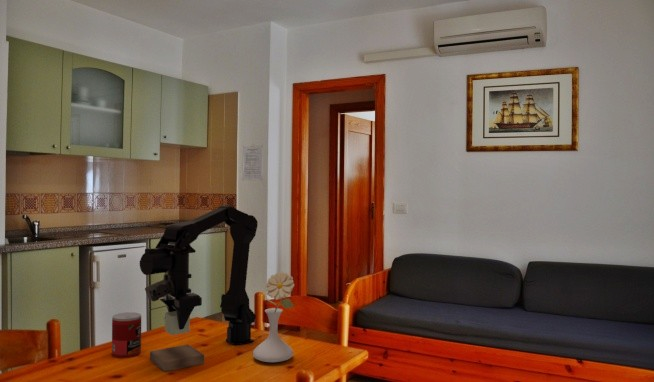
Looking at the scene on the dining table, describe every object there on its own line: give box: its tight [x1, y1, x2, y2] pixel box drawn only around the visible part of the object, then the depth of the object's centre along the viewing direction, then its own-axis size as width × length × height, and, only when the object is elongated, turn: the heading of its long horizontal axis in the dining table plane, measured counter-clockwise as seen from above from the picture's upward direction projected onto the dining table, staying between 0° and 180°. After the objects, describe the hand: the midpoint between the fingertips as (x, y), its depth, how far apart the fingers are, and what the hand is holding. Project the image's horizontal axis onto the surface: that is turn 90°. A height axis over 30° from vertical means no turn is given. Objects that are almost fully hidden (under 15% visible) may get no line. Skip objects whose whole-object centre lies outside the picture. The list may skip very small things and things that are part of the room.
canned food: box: [111, 311, 142, 359], centre depth 147 cm, size 8×8×11 cm
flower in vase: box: [252, 271, 295, 363], centre depth 144 cm, size 13×11×25 cm
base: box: [149, 344, 205, 373], centre depth 141 cm, size 11×11×2 cm
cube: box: [164, 311, 191, 336], centre depth 141 cm, size 5×5×5 cm
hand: (177, 327), depth 141 cm, fingers closed on cube, 5 cm apart
